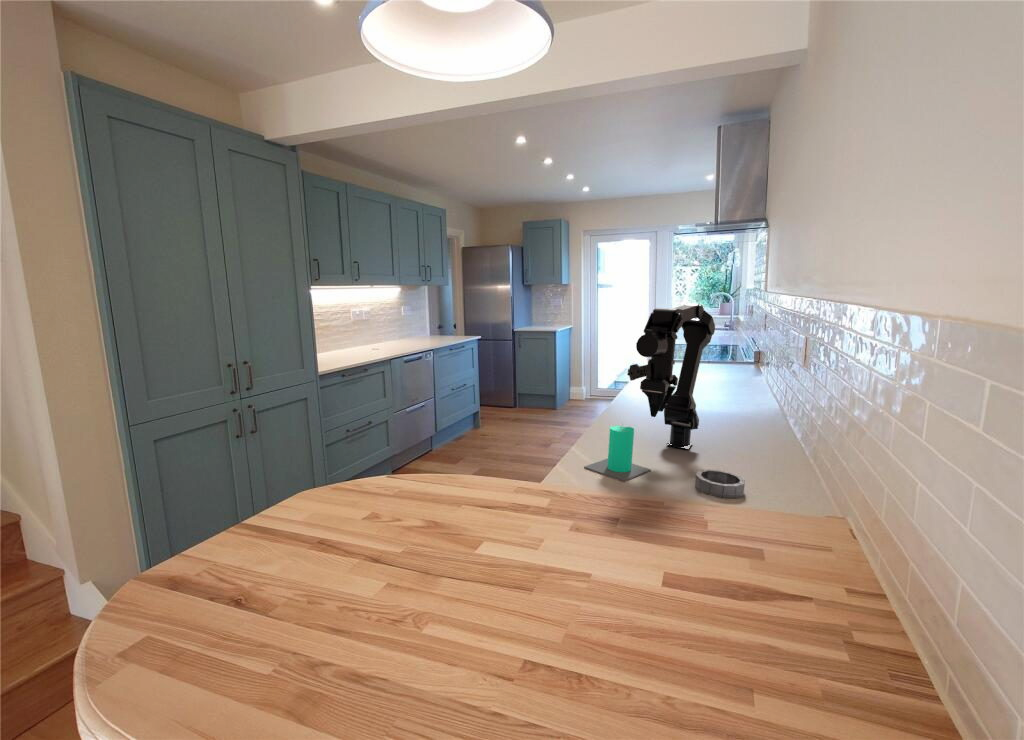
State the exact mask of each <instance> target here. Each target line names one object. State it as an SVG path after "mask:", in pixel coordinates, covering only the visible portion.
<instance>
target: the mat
mask: <svg viewBox="0 0 1024 740" xmlns="http://www.w3.org/2000/svg"><path fill="white" fill-rule="evenodd" d="M583 468H584V469H586V470H588V471H591V472H593V473H597V474H600V475H603V476H605V477H609V478H611V479H614V480H616V481H620V482H623V483H625V482H627V481H630V480H633V479H635V478H637V477H639V476H642V475H644V474H647V473H649V472H651V471H652V470H651V469H652V468H649V467H648V468H647V467H645V466H641V465H639V464H635V463H632V466H631V471H629V472H615V471H612V470H610V469H608V457H607V458H604V459H602V460H599V461H597V462H594V463H591V464H588V465H585V466H584V467H583Z"/></svg>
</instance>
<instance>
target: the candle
mask: <svg viewBox="0 0 1024 740" xmlns="http://www.w3.org/2000/svg"><path fill="white" fill-rule="evenodd" d="M623 423H624V422H622V423H621V425H615V426H614V425H613V426H609V438H608V442H609V443H608V453H607V454H608V455H607V458H608V469H610V470H612V471H615V472H629V471H631V466H632V464H633V452H634V451H633V450H634V439H635V438H634V436H635V429H634V427H631V426H623Z"/></svg>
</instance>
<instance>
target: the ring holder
mask: <svg viewBox="0 0 1024 740" xmlns="http://www.w3.org/2000/svg"><path fill="white" fill-rule="evenodd" d="M694 483H695V484H694V487H695V489H696V490H697V491H698V492H700V493H702V494H705V495H707V496H709V497H714V498H719V499H724V500H727V499H728V500H735V499H740V498H743V496H744V494H745V493H744V492H745V485H746V480H745V479H744V478H743V477H742V476H741V475H738V474H736V473H733V472H730V471H726V470H721V469H708V468H707V469H705V468H704V469H702V470H698V471H697V472H696V473H695V481H694Z"/></svg>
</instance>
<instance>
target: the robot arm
mask: <svg viewBox="0 0 1024 740" xmlns="http://www.w3.org/2000/svg"><path fill="white" fill-rule="evenodd" d="M714 321H715V320H714V319H713V316H712V315H711V314H710V313H709V312H707V311H706V310H705V309H704V306H703V305H702V304H700V303H684V304H683V305H680V306H677V307H673V308H671V307H670V308H669V307H667V308H665V307H655V308H654V309H652V312H650V314H649V317H648V320H647V321H646V324H645V327H644V329H643V333H644V334H643V335H641V336H640V337H638V339H637V341H636V343H635V345H636V347H635V348H636V351H637V352H638V354H639V355H640V356H642V357H645V358H649V360H647V364H643V365H639V364H638V363H635V364H630V365H629V368H628V369H627V374H626V375H627V376H629V379H630V381H635V380H637V379H641V378H643V379H642V380H641V381H640V385H639V389H640V391H641V392H642V393H643V394H645V396H646V398H647V401H648V406H649V412H650V416H651V417H652V418H655V417H657V414H658V412H661V413H662V412H663V416H664V417H663V420H664V425H666V426H667V425H669V426H670V432H669V433H670V435H669V441H670V444H672V445H670V444H669V443H668V442H667V443H666V445H667V444H669V445H670V446H675V447H684V446H688V445H690V443H691V433H692V431H693V430H698V429H699V426H700V425H699V424H700V418H699V415H698V413H697V410H696V408H697V404H696V401H695V398H694V396H693V395H694V390H695V386H696V381H697V377H698V372H699V367H700V364H701V363H700V362H701V359H702V355H703V350H704V348H706V346H707V345H709V343H711V341H712V338H713V335H714V334H715V330H716V324H715V322H714ZM681 328H682V331H683V338H684V341H685V344H686V347H685V350H684V351H685V352H684V356H683V358H682V359H683V360H682V364H681V367H680V373H679V377H677V375H675V374H673V371H674V370H673V369H674V365H675V364H676V362H675V361H676V360H675V349H676V340H677V339H678V335H677V333H679V330H680V329H681ZM651 417H650V418H651ZM675 447H674V448H675Z"/></svg>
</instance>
